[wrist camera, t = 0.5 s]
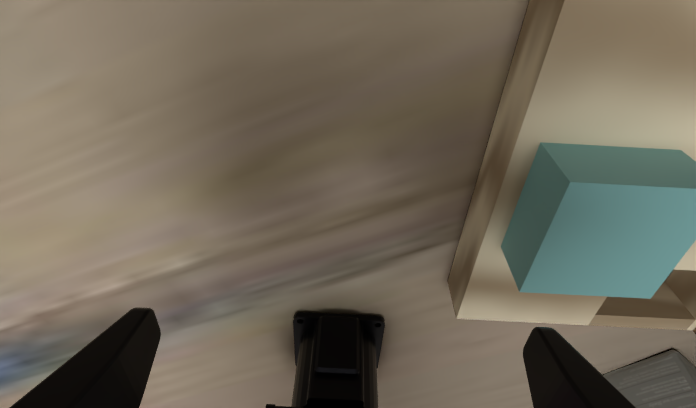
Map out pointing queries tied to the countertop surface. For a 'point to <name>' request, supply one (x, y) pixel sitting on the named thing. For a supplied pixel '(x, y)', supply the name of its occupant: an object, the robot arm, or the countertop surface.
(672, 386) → the skincare box
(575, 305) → the wooden tray
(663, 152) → the block
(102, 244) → the countertop surface
